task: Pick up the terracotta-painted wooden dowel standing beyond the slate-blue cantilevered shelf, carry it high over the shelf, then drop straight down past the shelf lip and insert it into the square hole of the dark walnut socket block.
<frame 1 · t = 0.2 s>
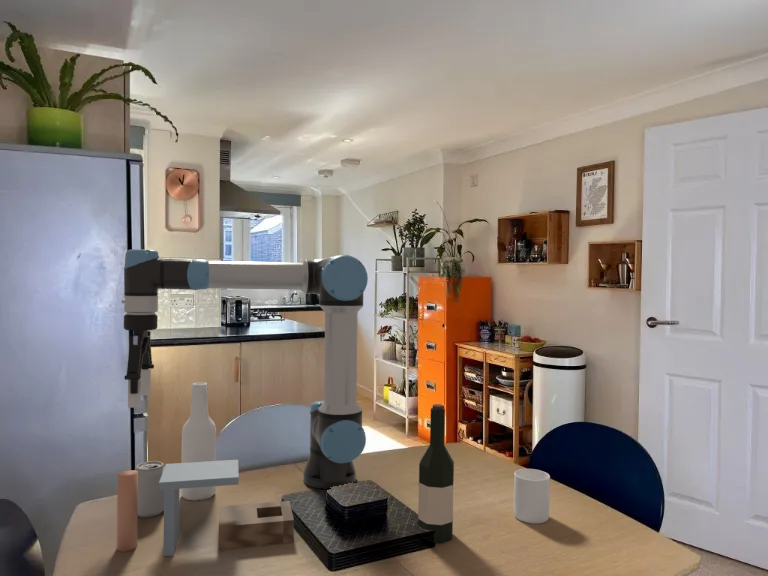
hand: (139, 401, 138), 28 cm above the table, fingers open, 13 cm apart
alcohol: (198, 495, 152), on the table
socket: (255, 534, 129), on the table
wine bottle: (435, 536, 130), on the table
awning: (200, 540, 126), on the table
mug: (528, 515, 143), on the table
can: (149, 513, 140), on the table
peg: (127, 547, 122), on the table
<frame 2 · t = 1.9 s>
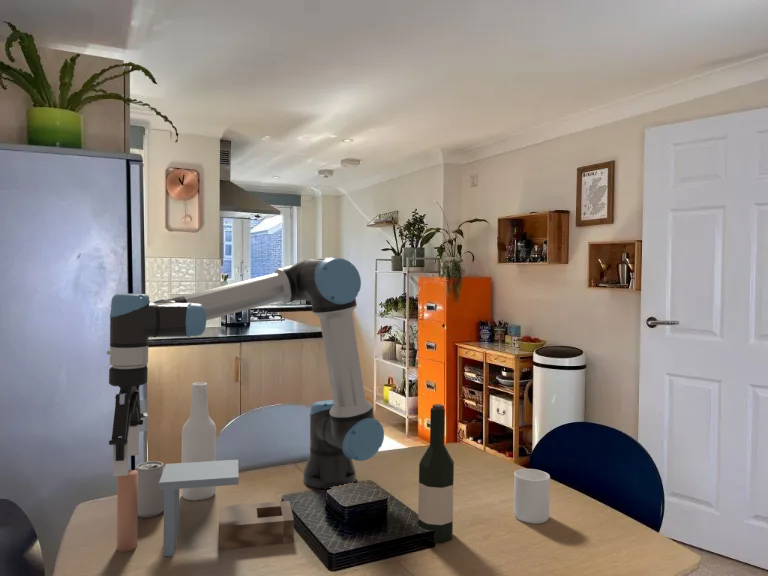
hand: (126, 464, 122), 18 cm above the table, fingers open, 13 cm apart
nothing on the table moved.
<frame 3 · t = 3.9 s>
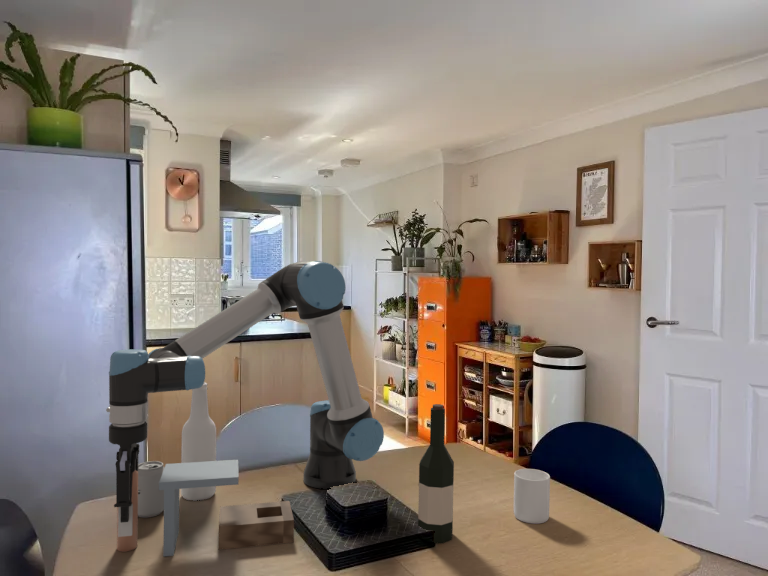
hand: (127, 530, 122), 4 cm above the table, fingers closed on peg, 4 cm apart
peg: (127, 547, 122), on the table, touching gripper
everything else where it was.
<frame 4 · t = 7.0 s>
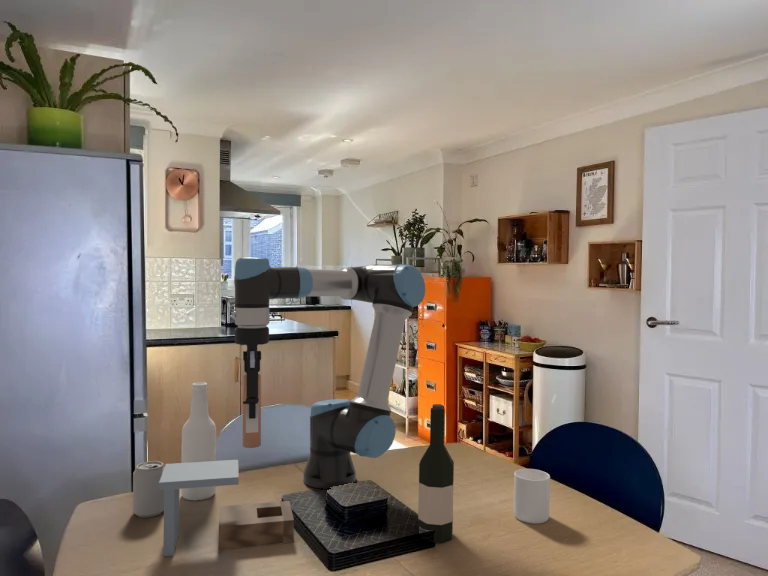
hand: (251, 429, 128), 24 cm above the table, fingers closed on peg, 4 cm apart
peg: (251, 445, 129), point 20 cm above the table, touching gripper
everything else where it was.
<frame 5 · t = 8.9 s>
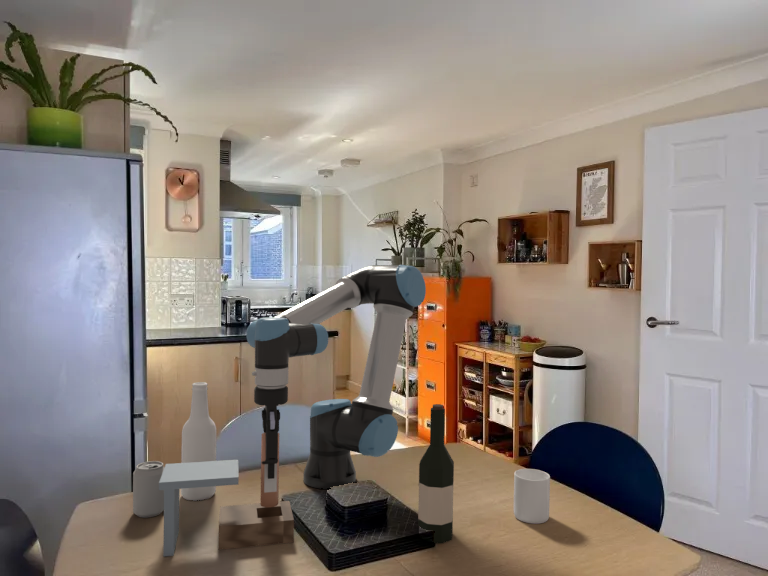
hand: (269, 487, 130), 11 cm above the table, fingers closed on peg, 4 cm apart
peg: (269, 503, 130), point 7 cm above the table, touching gripper
everything else where it was.
when the fingers open (6 cm above the table, at t = 10.2 s): peg drops 2 cm, resting in socket.
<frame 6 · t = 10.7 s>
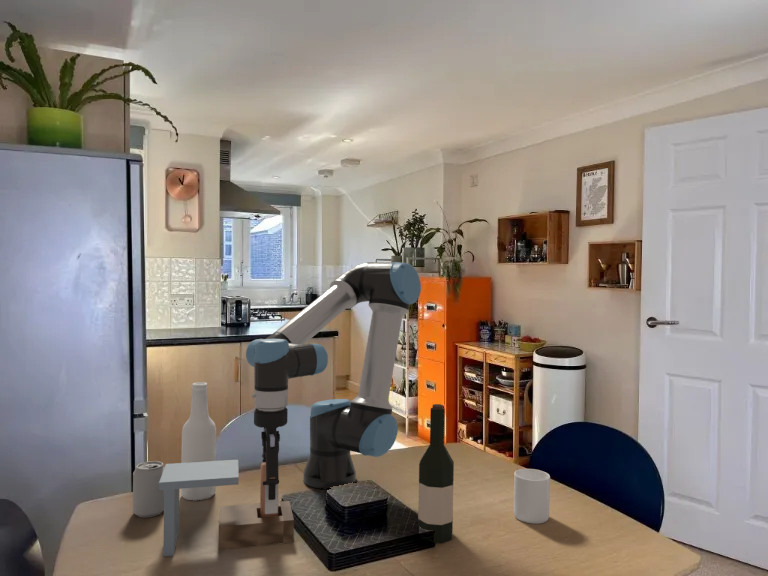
hand: (269, 501, 130), 7 cm above the table, fingers open, 12 cm apart
peg: (269, 533, 130), resting in socket
everything else where it was.
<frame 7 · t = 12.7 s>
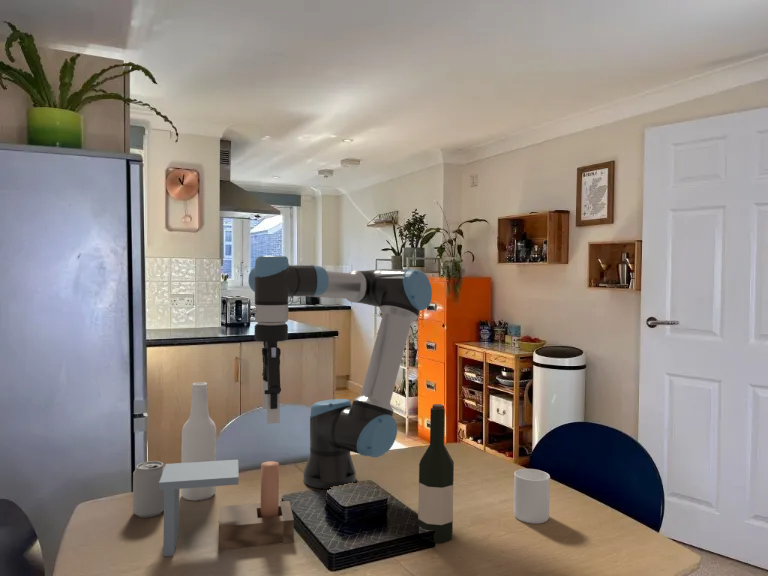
hand: (270, 415, 131), 27 cm above the table, fingers open, 13 cm apart
nothing on the table moved.
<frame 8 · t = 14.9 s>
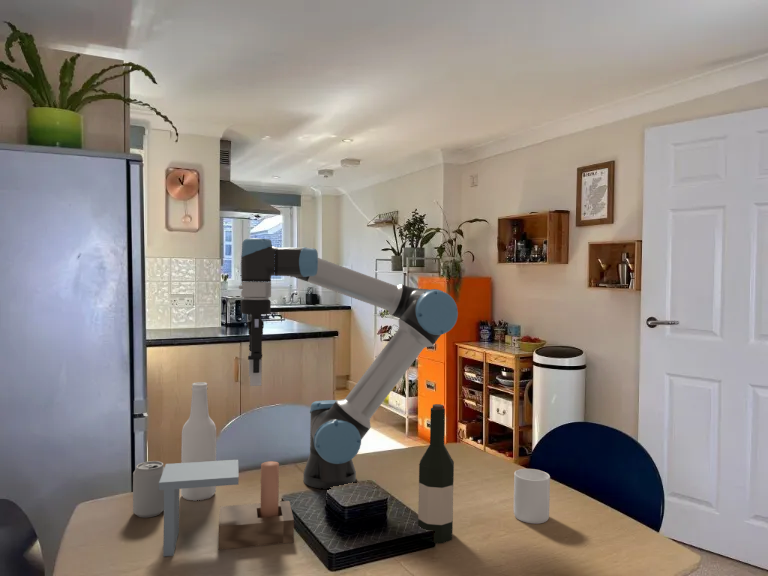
hand: (254, 380, 147), 32 cm above the table, fingers open, 13 cm apart
nothing on the table moved.
at the end: peg 0.0 cm from the target spot on the socket, point 0.0 cm above the socket's base; peg tilted 0°; the gripper is holding nothing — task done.
